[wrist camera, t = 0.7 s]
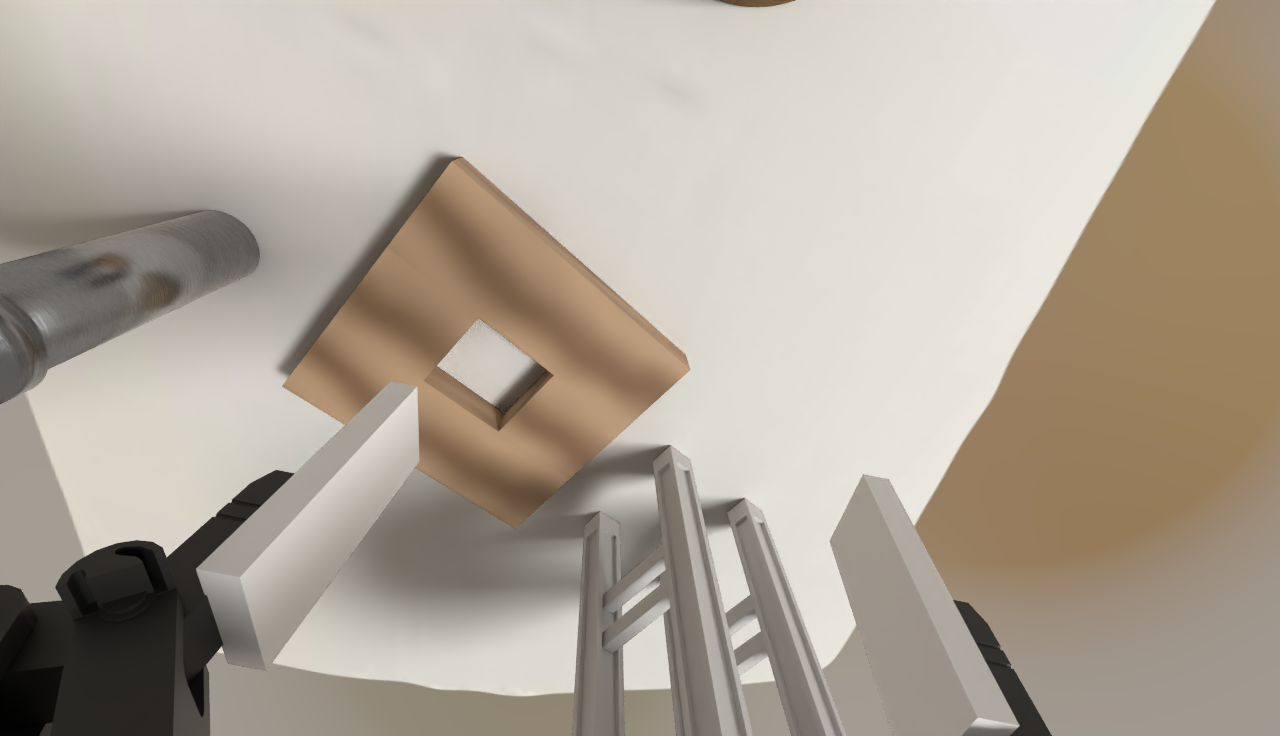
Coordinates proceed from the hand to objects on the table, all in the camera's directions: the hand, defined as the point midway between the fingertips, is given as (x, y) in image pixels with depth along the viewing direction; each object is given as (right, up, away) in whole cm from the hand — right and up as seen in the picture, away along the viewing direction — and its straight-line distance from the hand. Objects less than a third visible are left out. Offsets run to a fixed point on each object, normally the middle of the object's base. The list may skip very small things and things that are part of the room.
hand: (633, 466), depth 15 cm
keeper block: (-11, +3, +23) cm, 25 cm away
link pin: (-27, +11, +18) cm, 34 cm away
